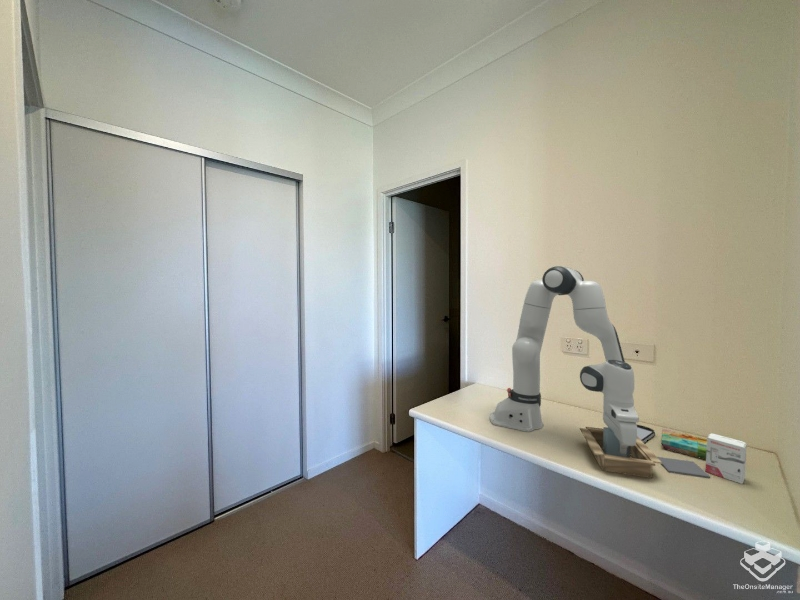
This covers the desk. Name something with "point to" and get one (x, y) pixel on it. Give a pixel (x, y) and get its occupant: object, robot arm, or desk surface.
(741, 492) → the desk surface
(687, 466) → the mat
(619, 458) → the brown wooden rectangular frame
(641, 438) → the gaming console
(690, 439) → the puzzle game
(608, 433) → the block
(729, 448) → the ink box
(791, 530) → the desk surface
